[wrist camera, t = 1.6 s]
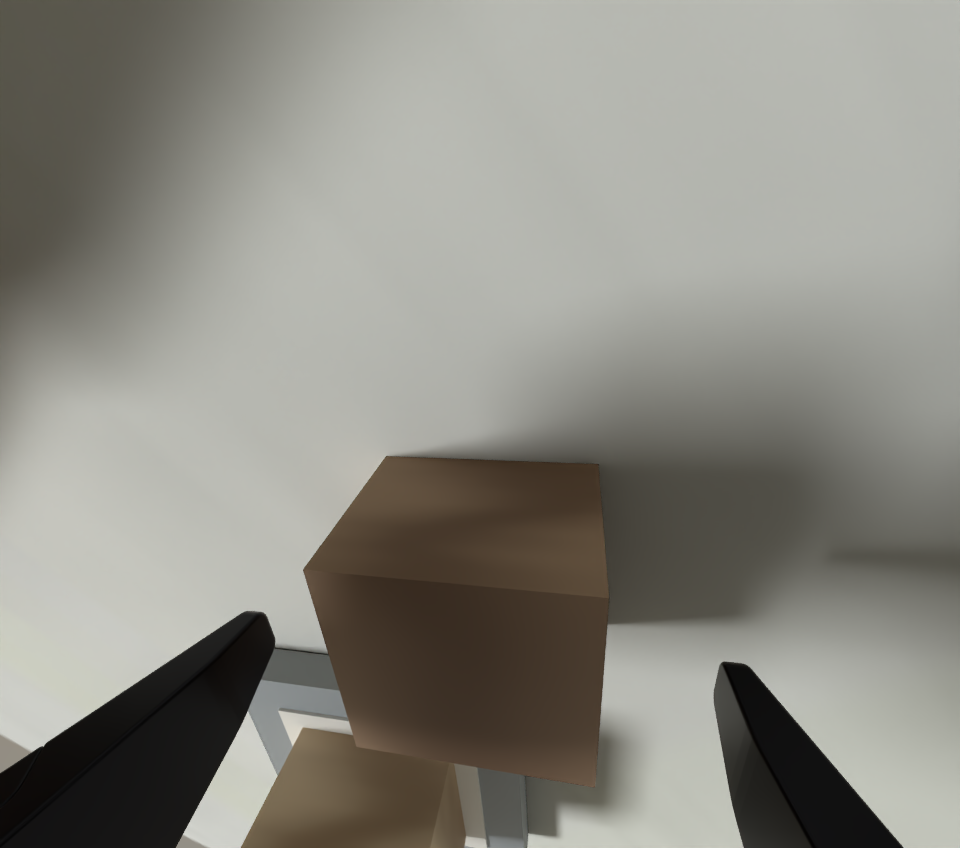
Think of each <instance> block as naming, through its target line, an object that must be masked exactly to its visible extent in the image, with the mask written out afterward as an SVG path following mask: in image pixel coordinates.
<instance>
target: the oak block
mask: <svg viewBox="0 0 960 848" xmlns="http://www.w3.org/2000/svg"><path fill="white" fill-rule="evenodd" d="M465 840H466V832H465V826H464V820H463V814H462V808H461V802H460V796H459V790H458V784H457V778H456V772H455V766H454V763H448V762H443V761H437V760H431V759H425V758H419V757H413V756H407V755H401V754H396V753H390V752H384V751H378V750H372V749H366V748H360V747H356V744H355V740H354V737H353V735H349V734H342V733H336V732H330V731H323V730H317V729H311V728H304V727H303V728H302V730H301V732H300V734H299V736H298V738H297V740H296V742H295V743H294V745H293V747H292V749H291V751H290V753H289V755H288V757H287V759H286V761H285V763H284V765H283V767H282V769H281V771H280V773H279V775H278V777H277V778H276V780H275V782H274V784H273V786H272V788H271V790H270V792H269V794H268V796H267V798H266V800H265V802H264V804H263V806H262V808H261V810H260V811H259V813H258V815H257V817H256V819H255V821H254V823H253V825H252V827H251V829H250V831H249V833H248V835H247V837H246V839H245V841H244V843H243V845H242V846H241V848H464V846H465Z"/></svg>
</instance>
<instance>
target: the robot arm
mask: <svg viewBox="0 0 960 848" xmlns="http://www.w3.org/2000/svg"><path fill="white" fill-rule="evenodd" d="M274 648H275V636H274V634H273V631H272V628H271V626H270V623H269V621H268V618H267V616H266V614H264V613H263V612H256V611H245V612H243V613H241V614H240V615H238V616H237V617H235V618H234V619H232V620H231V621H229V622H228V623H226V624H225V625H223V626H222V627H220V628H219V629H217V630H216V631H214V632H213V633H211V634H210V635H208V636H207V637H205V638H203V639H202V640H200V641H199V642H197V643H196V644H194V645H193V646H191V647H190V648H188V649H187V650H185V651H184V652H182V653H181V654H179V655H178V656H176V657H175V658H173V659H172V660H170V661H169V662H167V663H166V664H164V665H163V666H161V667H160V668H158V669H157V670H155V671H154V672H152V673H151V674H149V675H148V676H146V677H145V678H143V679H142V680H140V681H139V682H137V683H136V684H134V685H133V686H131V687H130V688H128V689H127V690H125V691H124V692H122V693H121V694H119V695H118V696H116V697H115V698H113V699H112V700H110V701H109V702H107V703H106V704H104V705H103V706H101V707H100V708H98V709H97V710H95V711H94V712H92V713H91V714H89V715H88V716H86V717H84V718H83V719H81V720H80V721H78V722H77V723H75V724H74V725H72V726H71V727H69V728H68V729H66V730H65V731H63V732H62V733H60V734H59V735H57V736H56V737H54V738H53V739H51V740H50V741H48V742H47V743H46V744H45V745H44V747H43V746H41V747H39V748H38V749H36V750H35V751H33V752H32V753H30V754H29V755H27V756H26V757H24V758H23V759H21V760H20V761H18V762H17V763H15V764H14V765H12V766H10V767H9V768H7V769H6V770H4V771H3V772H1V773H0V848H176V846H177V844H178V842H179V841H180V839H181V837H182V835H183V833H184V831H185V829H186V828H187V826H188V824H189V822H190V820H191V818H192V816H193V815H194V813H195V811H196V809H197V807H198V805H199V803H200V801H201V800H202V798H203V796H204V794H205V792H206V790H207V788H208V787H209V785H210V783H211V781H212V779H213V777H214V775H215V774H216V772H217V770H218V768H219V766H220V764H221V762H222V761H223V759H224V757H225V755H226V753H227V751H228V749H229V747H230V746H231V744H232V742H233V740H234V738H235V736H236V734H237V732H238V730H239V728H240V726H241V724H242V722H243V720H244V718H245V716H246V714H247V711H248V709H249V707H250V704H251V702H252V700H253V698H254V695H255V693H256V691H257V688H258V686H259V684H260V681H261V679H262V677H263V674H264V672H265V670H266V667H267V665H268V663H269V660H270V658H271V656H272V653H273V651H274ZM714 706H715V712H716V718H717V723H718V729H719V734H720V740H721V746H722V751H723V757H724V763H725V768H726V774H727V779H728V785H729V790H730V796H731V801H732V806H733V810H734V813H735V817H736V821H737V825H738V829H739V832H740V836H741V839H742V843H743V846H744V848H903V846H902V845H901V844H900V843H899V842H898V841H897V839H896V838H895V837H894V836H893V835H892V834H891V832H890V831H889V830H888V829H887V828H886V827H885V825H884V824H883V823H882V822H881V821H880V819H879V818H878V817H877V816H876V815H875V814H874V812H873V811H872V810H871V809H870V808H869V807H868V805H867V804H866V803H865V802H864V801H863V800H862V798H861V797H860V796H859V795H858V794H857V792H856V791H855V790H854V789H853V788H852V787H851V785H850V784H849V783H848V782H847V781H846V780H845V778H844V777H843V776H842V775H841V774H840V773H839V771H838V770H837V769H836V768H835V767H834V765H833V764H832V763H831V762H830V761H829V760H828V758H827V757H826V756H825V755H824V754H823V753H822V751H821V750H820V749H819V748H818V747H817V745H816V744H815V743H814V742H813V741H812V740H811V738H810V737H809V736H808V735H807V734H806V733H805V731H804V730H803V729H802V728H801V727H800V726H799V724H798V723H797V722H796V721H795V720H794V718H793V717H792V716H791V715H790V714H789V713H788V711H787V710H786V709H785V708H784V707H783V706H782V704H781V703H780V702H779V701H778V700H777V699H776V697H775V696H774V695H773V694H772V693H771V691H770V690H769V689H768V688H767V687H766V686H765V684H764V683H763V682H762V681H761V680H760V679H759V677H758V676H757V675H756V674H755V673H754V672H753V670H752V669H751V668H750V667H749V666H747V665H746V664H742V663H734V662H722V663H721V664H720V666H719V670H718V675H717V679H716V684H715V688H714Z"/></svg>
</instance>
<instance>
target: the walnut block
mask: <svg viewBox="0 0 960 848" xmlns="http://www.w3.org/2000/svg"><path fill="white" fill-rule="evenodd" d="M303 571H304V575H305V578H306V581H307V585H308V588H309V591H310V595H311V598H312V601H313V604H314V608H315V611H316V614H317V618H318V621H319V624H320V628H321V631H322V634H323V638H324V641H325V644H326V647H327V651H328V654H329V657H330V661H331V664H332V667H333V671H334V674H335V677H336V681H337V684H338V687H339V691H340V694H341V697H342V700H343V704H344V707H345V710H346V714H347V717H348V720H349V724H350V727H351V730H352V734H353V737H354V740H355V744H356V747H360V748H366V749H372V750H378V751H384V752H390V753H396V754H401V755H407V756H413V757H419V758H425V759H431V760H437V761H443V762H448V763H454V764H460V765H466V766H472V767H478V768H484V769H489V770H495V771H501V772H507V773H513V774H519V775H525V776H530V777H536V778H542V779H548V780H554V781H560V782H566V783H571V784H577V785H583V786H589V787H595V781H596V768H597V754H598V741H599V728H600V714H601V701H602V688H603V675H604V661H605V648H606V635H607V621H608V608H609V589H608V576H607V564H606V552H605V540H604V527H603V515H602V503H601V491H600V478H599V466H598V464H582V463H555V462H528V461H501V460H474V459H447V458H420V457H393V456H386V457H385V459H384V460H383V461H382V463H381V464H380V465H379V467H378V468H377V470H376V471H375V472H374V474H373V475H372V476H371V478H370V479H369V480H368V482H367V483H366V485H365V486H364V487H363V489H362V490H361V491H360V493H359V494H358V496H357V497H356V498H355V500H354V501H353V502H352V504H351V505H350V506H349V508H348V509H347V511H346V512H345V513H344V515H343V516H342V517H341V519H340V520H339V521H338V523H337V524H336V526H335V527H334V528H333V530H332V531H331V532H330V534H329V535H328V536H327V538H326V539H325V541H324V542H323V543H322V545H321V546H320V547H319V549H318V550H317V551H316V553H315V554H314V556H313V557H312V558H311V560H310V561H309V562H308V564H307V565H306V566H305V568H304V569H303Z"/></svg>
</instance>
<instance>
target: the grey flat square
mask: <svg viewBox="0 0 960 848" xmlns="http://www.w3.org/2000/svg"><path fill="white" fill-rule="evenodd" d="M248 711H249V714H250V716H251V718H252V720H253V722H254V725H255V727H256V729H257V731H258V733H259V736H260V738H261V740H262V742H263V744H264V747H265V749H266V751H267V753H268V755H269V758H270V760H271V762H272V764H273V766H274V769H275V771H276V773H277V775H279V773H280V771H281V769H282V767H283V765H284V763H285V761H286V759H287V757H288V755H289V753H290V751H291V749H292V747H293V745H294V743H295V742H296V740H297V738H298V736H299V734H300V732H301V730H302V728H303V727H304V728H311V729H317V730H323V731H330V732H336V733H342V734H349V735H353V734H352V730H351V727H350V724H349V720H348V717H347V714H346V710H345V707H344V704H343V700H342V697H341V694H340V691H339V687H338V684H337V681H336V677H335V674H334V671H333V667H332V664H331V661H330V657H329V655H323V654H314V653H306V652H298V651H290V650H282V649H274V651H273V653H272V656H271V658H270V660H269V663H268V665H267V667H266V670H265V672H264V674H263V677H262V679H261V681H260V684H259V686H258V688H257V691H256V693H255V695H254V698H253V700H252V702H251V704H250V707H249V709H248ZM454 766H455V772H456V778H457V784H458V790H459V796H460V802H461V808H462V814H463V820H464V826H465V832H466V840H465V846H464V848H527V844H528V823H527V805H526V786H525V775H519V774H513V773H507V772H501V771H495V770H489V769H484V768H478V767H472V766H466V765H460V764H454Z"/></svg>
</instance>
